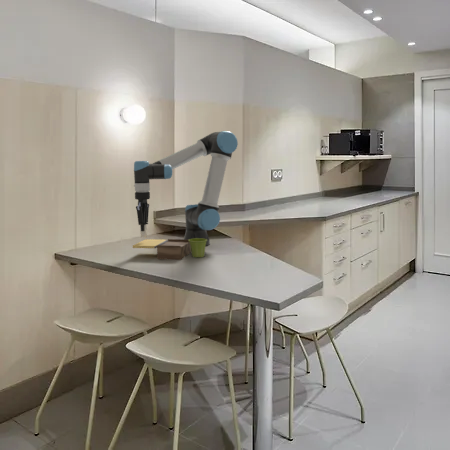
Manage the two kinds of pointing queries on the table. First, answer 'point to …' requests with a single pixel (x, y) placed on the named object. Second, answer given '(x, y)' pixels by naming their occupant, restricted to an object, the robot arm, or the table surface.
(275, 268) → the table surface
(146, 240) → the pale yellow rectangular panel
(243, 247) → the table surface
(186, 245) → the brown cardboard box
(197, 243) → the plant pot
